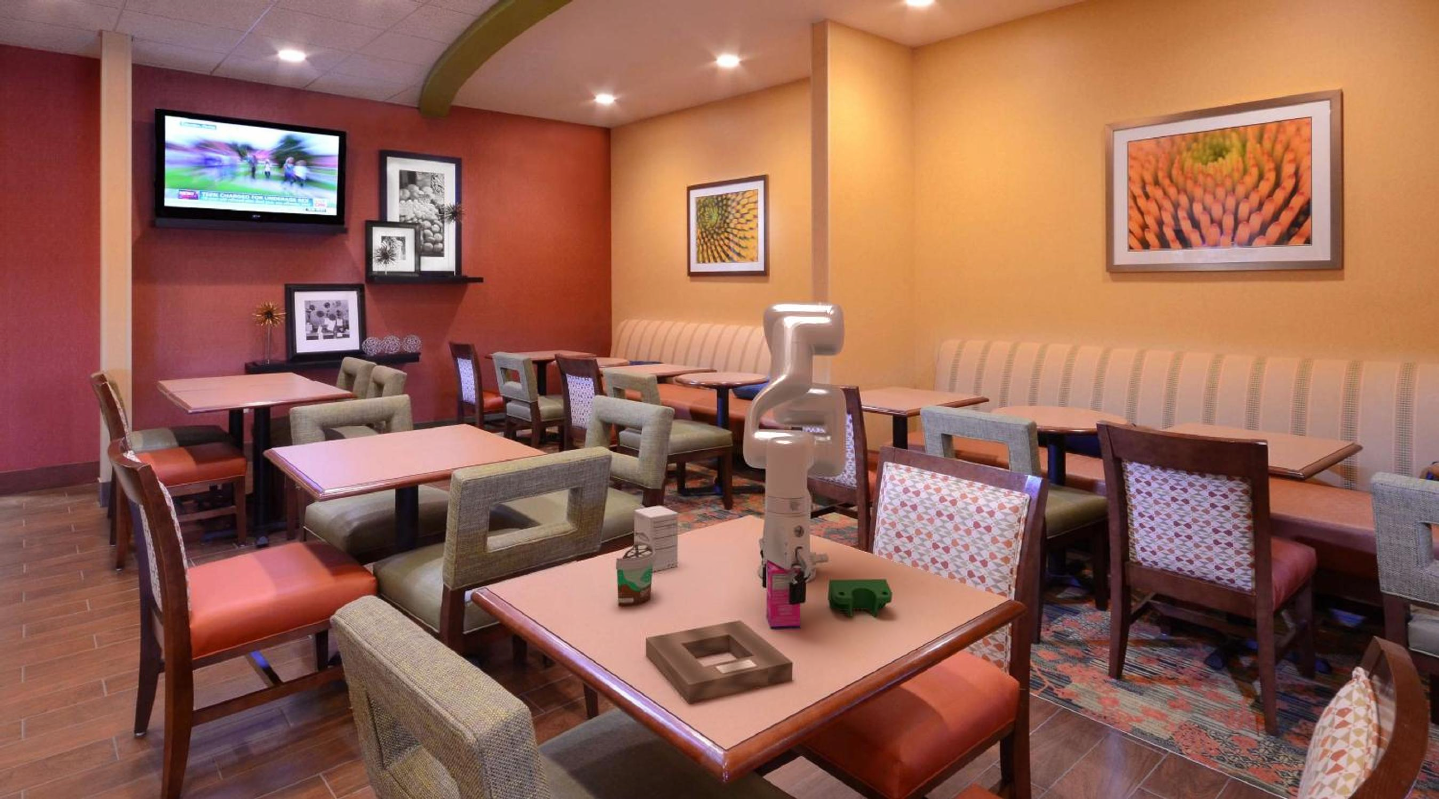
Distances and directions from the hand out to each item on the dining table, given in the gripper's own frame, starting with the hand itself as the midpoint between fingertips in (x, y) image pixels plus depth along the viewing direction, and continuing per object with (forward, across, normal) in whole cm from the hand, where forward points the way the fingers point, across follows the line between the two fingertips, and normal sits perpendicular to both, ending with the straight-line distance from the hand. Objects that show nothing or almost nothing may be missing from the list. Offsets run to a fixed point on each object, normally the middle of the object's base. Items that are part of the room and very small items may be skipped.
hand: (783, 594), depth 150 cm
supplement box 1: (+5, +40, +10) cm, 41 cm away
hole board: (+6, -10, +18) cm, 22 cm away
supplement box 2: (+6, +1, 0) cm, 6 cm away
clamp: (+6, -1, -17) cm, 18 cm away
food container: (+6, +23, +20) cm, 31 cm away
